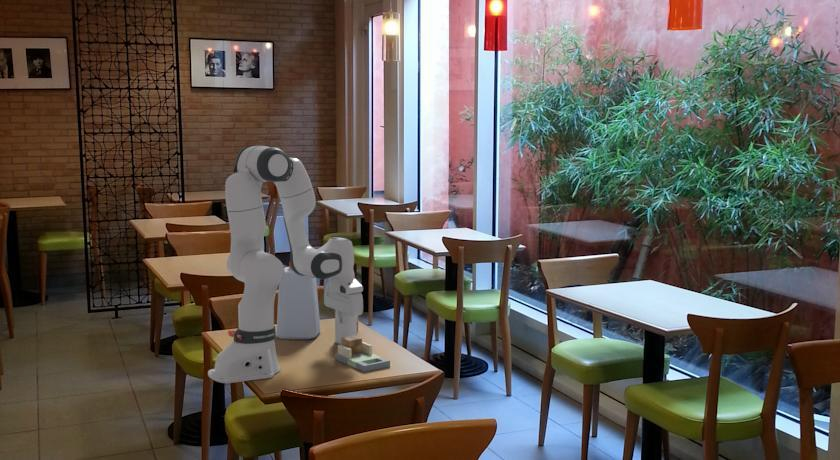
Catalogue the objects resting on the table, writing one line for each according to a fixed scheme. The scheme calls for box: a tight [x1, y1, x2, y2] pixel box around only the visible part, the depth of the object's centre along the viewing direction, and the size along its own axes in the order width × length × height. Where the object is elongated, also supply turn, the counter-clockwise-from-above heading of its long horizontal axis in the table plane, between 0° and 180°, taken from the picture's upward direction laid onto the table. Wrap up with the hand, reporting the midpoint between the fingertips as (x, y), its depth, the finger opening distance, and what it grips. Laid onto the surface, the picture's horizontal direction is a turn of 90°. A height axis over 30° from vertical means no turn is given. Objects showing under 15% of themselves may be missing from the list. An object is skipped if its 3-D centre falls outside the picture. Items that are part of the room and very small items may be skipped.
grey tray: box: [334, 341, 391, 373], centre depth 276 cm, size 10×18×5 cm, turn 36°
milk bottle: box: [334, 309, 358, 345], centre depth 300 cm, size 8×8×20 cm
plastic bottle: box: [275, 261, 321, 341], centre depth 309 cm, size 15×15×28 cm
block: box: [341, 335, 363, 355], centre depth 281 cm, size 5×5×5 cm
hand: (343, 323), depth 285 cm, fingers closed
